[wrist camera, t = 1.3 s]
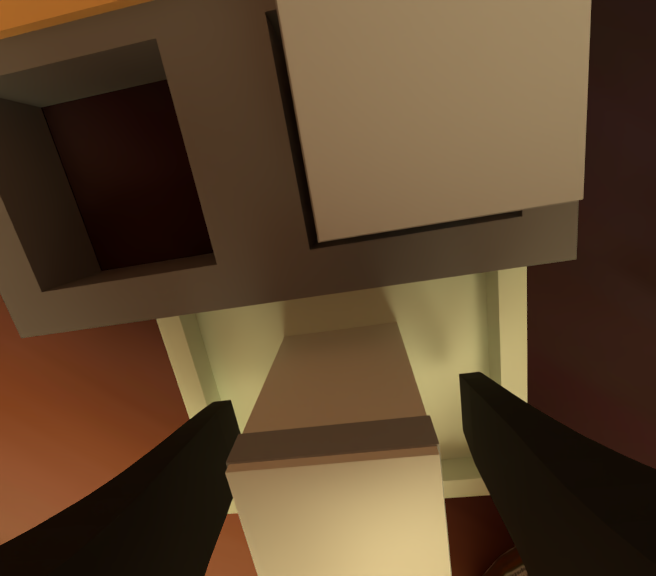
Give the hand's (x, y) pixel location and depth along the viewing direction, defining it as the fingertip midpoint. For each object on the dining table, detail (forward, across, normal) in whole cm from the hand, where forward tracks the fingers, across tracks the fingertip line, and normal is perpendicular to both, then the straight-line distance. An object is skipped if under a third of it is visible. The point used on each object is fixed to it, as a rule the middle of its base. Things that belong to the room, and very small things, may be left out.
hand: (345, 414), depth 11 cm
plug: (+2, 0, 0) cm, 2 cm away
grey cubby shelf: (+2, +1, -8) cm, 8 cm away
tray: (+2, 0, 0) cm, 2 cm away
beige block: (+2, -3, -8) cm, 9 cm away
